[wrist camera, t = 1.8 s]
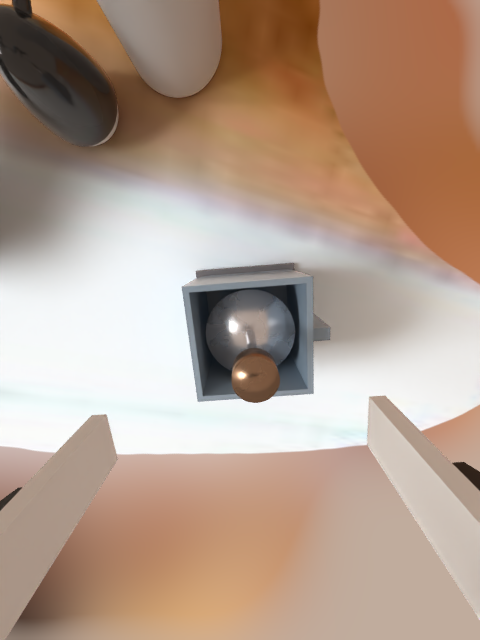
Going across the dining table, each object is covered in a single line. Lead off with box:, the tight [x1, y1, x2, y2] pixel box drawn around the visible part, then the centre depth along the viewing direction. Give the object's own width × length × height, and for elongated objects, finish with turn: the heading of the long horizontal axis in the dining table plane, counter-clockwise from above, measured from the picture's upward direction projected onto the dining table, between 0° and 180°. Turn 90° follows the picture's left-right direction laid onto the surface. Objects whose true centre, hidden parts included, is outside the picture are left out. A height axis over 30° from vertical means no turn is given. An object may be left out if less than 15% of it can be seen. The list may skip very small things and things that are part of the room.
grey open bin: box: [182, 263, 330, 402], centre depth 37 cm, size 18×16×15 cm
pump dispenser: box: [0, 0, 118, 147], centre depth 29 cm, size 10×10×15 cm
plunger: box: [206, 289, 295, 403], centre depth 27 cm, size 12×12×13 cm
